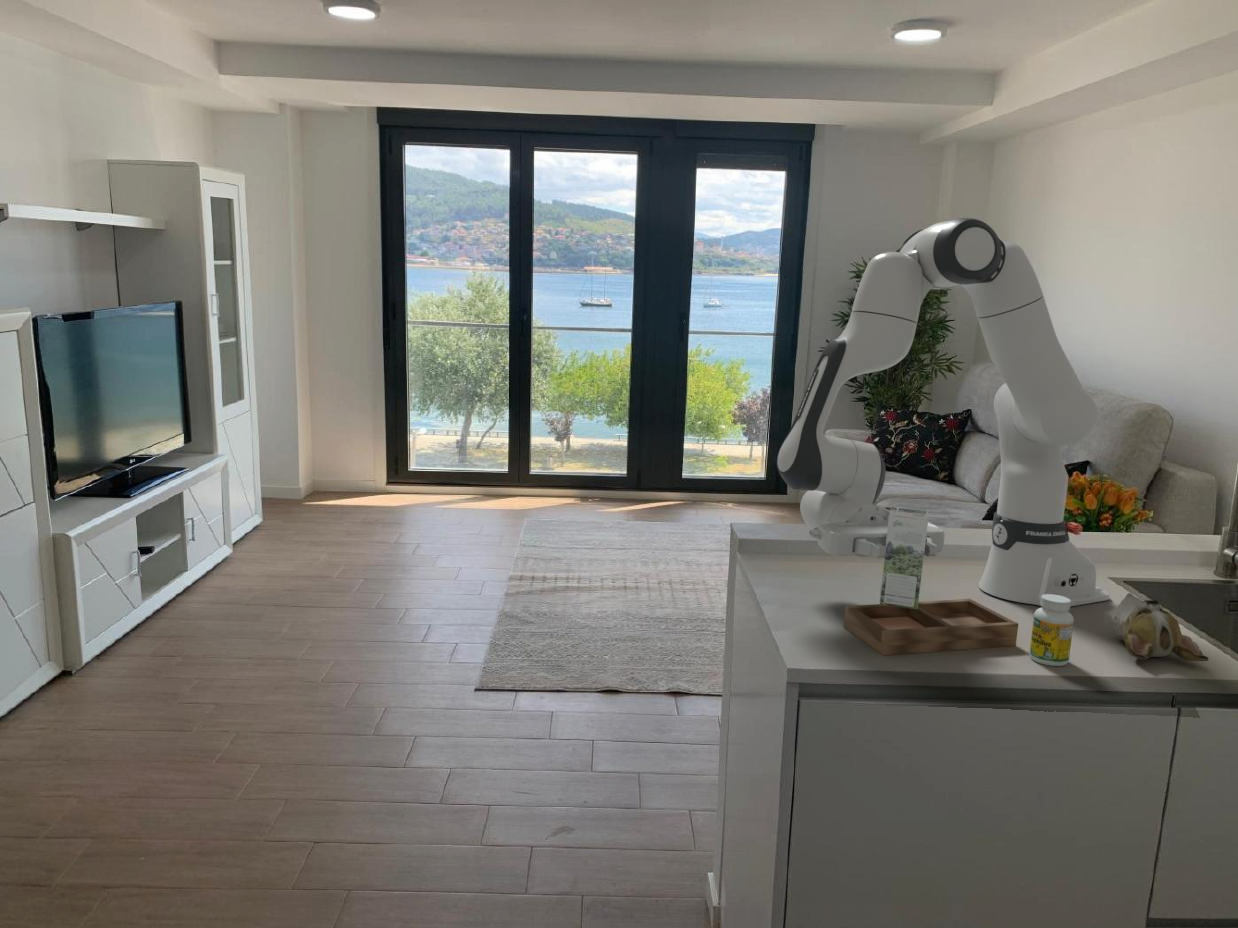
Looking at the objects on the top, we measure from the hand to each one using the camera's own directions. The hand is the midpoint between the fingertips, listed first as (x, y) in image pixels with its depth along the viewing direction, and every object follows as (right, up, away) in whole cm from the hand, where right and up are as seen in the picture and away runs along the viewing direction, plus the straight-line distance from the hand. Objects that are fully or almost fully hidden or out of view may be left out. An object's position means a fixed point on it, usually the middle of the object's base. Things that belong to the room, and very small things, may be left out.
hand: (907, 552), depth 145 cm
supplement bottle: (+20, -16, -3) cm, 26 cm away
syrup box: (-1, -8, +2) cm, 9 cm away
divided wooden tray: (+5, -14, +5) cm, 15 cm away
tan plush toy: (+37, -16, +2) cm, 41 cm away
